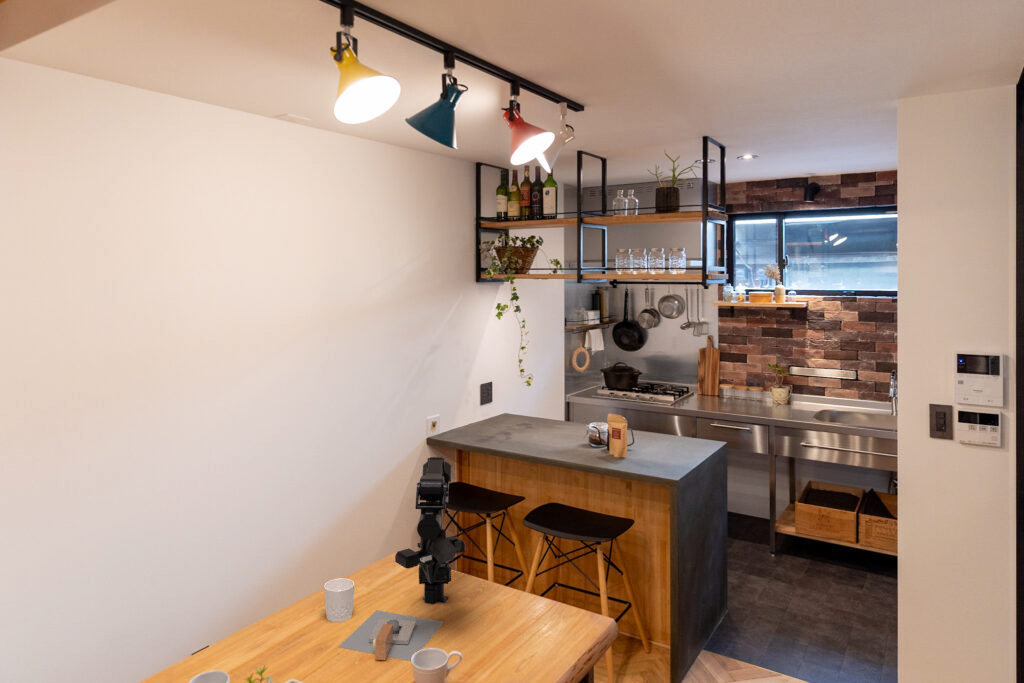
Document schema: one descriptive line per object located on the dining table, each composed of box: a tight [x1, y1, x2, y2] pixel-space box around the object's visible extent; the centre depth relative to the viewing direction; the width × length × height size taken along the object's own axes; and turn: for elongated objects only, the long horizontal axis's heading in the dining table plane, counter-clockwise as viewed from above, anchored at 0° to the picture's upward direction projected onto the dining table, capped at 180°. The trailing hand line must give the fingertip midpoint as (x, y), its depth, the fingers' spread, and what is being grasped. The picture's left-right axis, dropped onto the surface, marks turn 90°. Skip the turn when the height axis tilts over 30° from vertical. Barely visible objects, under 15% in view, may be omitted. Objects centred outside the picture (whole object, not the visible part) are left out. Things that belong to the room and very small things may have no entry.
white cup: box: [323, 577, 355, 623], centre depth 184 cm, size 8×8×10 cm
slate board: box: [338, 609, 445, 662], centre depth 176 cm, size 20×20×4 cm
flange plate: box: [369, 619, 416, 661], centre depth 172 cm, size 18×10×5 cm, turn 176°
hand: (430, 582), depth 180 cm, fingers closed
